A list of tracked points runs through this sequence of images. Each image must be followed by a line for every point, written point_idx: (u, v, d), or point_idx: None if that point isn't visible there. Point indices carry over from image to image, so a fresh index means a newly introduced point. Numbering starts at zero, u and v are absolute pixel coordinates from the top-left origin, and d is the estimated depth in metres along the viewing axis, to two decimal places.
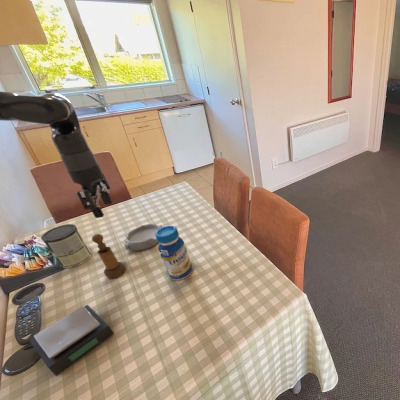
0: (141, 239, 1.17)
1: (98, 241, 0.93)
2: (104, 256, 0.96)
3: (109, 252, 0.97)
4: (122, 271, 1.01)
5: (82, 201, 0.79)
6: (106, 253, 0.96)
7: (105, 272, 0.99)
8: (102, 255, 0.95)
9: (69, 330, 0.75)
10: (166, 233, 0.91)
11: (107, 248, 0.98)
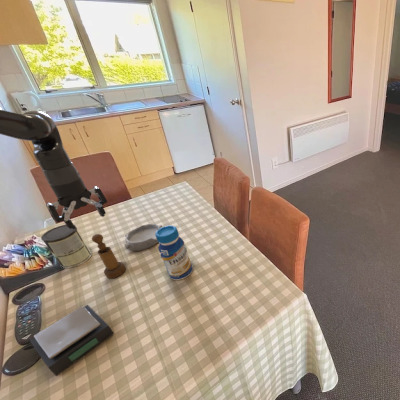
0: (141, 239, 1.17)
1: (98, 241, 0.93)
2: (104, 256, 0.96)
3: (109, 252, 0.97)
4: (122, 271, 1.01)
5: None
6: (106, 253, 0.96)
7: (105, 272, 0.99)
8: (102, 255, 0.95)
9: (69, 330, 0.75)
10: (166, 233, 0.91)
11: (107, 248, 0.98)
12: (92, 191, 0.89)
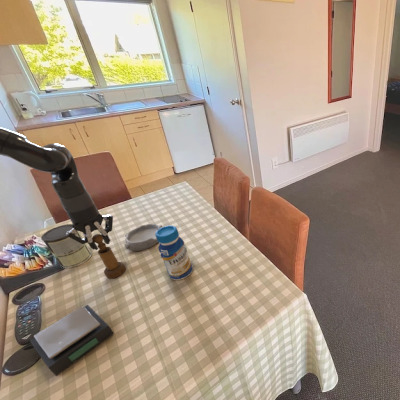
0: (141, 239, 1.17)
1: (98, 241, 0.93)
2: (104, 256, 0.96)
3: (109, 252, 0.97)
4: (122, 271, 1.01)
5: None
6: (106, 253, 0.96)
7: (105, 272, 0.99)
8: (102, 255, 0.95)
9: (69, 330, 0.75)
10: (166, 233, 0.91)
11: (107, 248, 0.98)
12: (105, 217, 0.94)
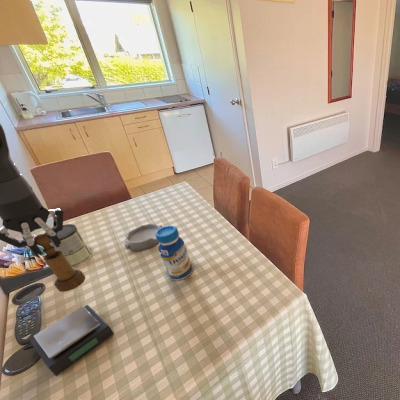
0: (141, 239, 1.17)
1: (43, 243, 0.71)
2: (52, 263, 0.73)
3: (60, 258, 0.74)
4: (78, 282, 0.78)
5: None
6: (55, 259, 0.73)
7: (56, 284, 0.76)
8: (50, 262, 0.73)
9: (69, 330, 0.75)
10: (166, 233, 0.91)
11: (58, 252, 0.75)
12: (52, 212, 0.71)
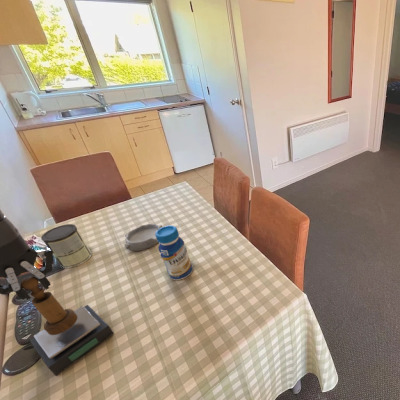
0: (141, 239, 1.17)
1: (30, 287, 0.65)
2: (40, 306, 0.68)
3: (49, 300, 0.69)
4: (70, 324, 0.73)
5: None
6: (44, 302, 0.68)
7: (45, 327, 0.71)
8: (38, 305, 0.68)
9: (69, 330, 0.75)
10: (166, 233, 0.91)
11: (47, 294, 0.70)
12: (40, 253, 0.66)
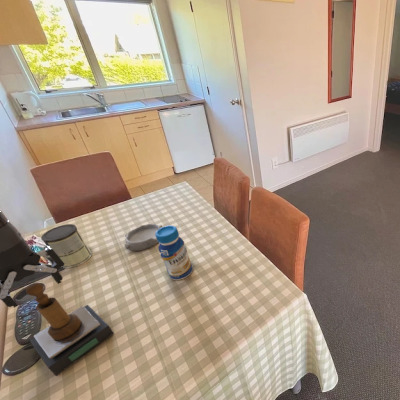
0: (141, 239, 1.17)
1: (35, 293, 0.67)
2: (45, 312, 0.69)
3: (53, 306, 0.70)
4: (73, 329, 0.74)
5: None
6: (48, 308, 0.69)
7: (49, 332, 0.72)
8: (42, 311, 0.69)
9: None
10: (166, 233, 0.91)
11: (51, 299, 0.71)
12: (42, 254, 0.66)
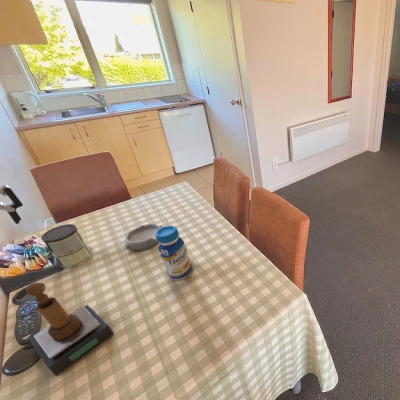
0: (141, 239, 1.17)
1: (35, 293, 0.67)
2: (45, 312, 0.69)
3: (53, 306, 0.70)
4: (73, 329, 0.74)
5: None
6: (48, 308, 0.69)
7: (49, 332, 0.72)
8: (42, 311, 0.69)
9: None
10: (166, 233, 0.91)
11: (51, 299, 0.71)
12: None
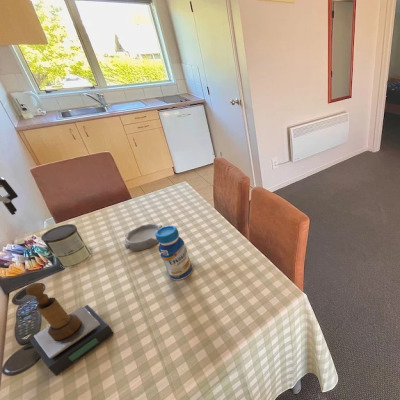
0: (141, 239, 1.17)
1: (35, 293, 0.67)
2: (45, 312, 0.69)
3: (53, 306, 0.70)
4: (73, 329, 0.74)
5: None
6: (48, 308, 0.69)
7: (49, 332, 0.72)
8: (42, 311, 0.69)
9: None
10: (166, 233, 0.91)
11: (51, 299, 0.71)
12: None
